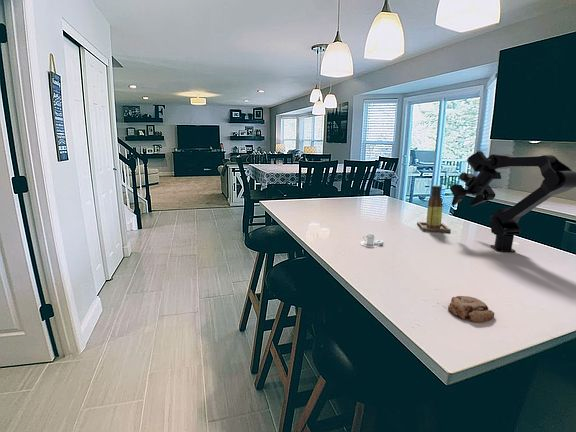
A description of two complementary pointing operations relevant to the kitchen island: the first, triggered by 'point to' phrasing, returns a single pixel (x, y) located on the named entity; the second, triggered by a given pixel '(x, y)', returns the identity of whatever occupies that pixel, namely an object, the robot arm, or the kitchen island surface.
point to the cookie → (470, 309)
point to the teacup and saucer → (371, 241)
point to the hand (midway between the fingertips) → (461, 205)
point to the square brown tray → (424, 228)
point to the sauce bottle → (434, 208)
